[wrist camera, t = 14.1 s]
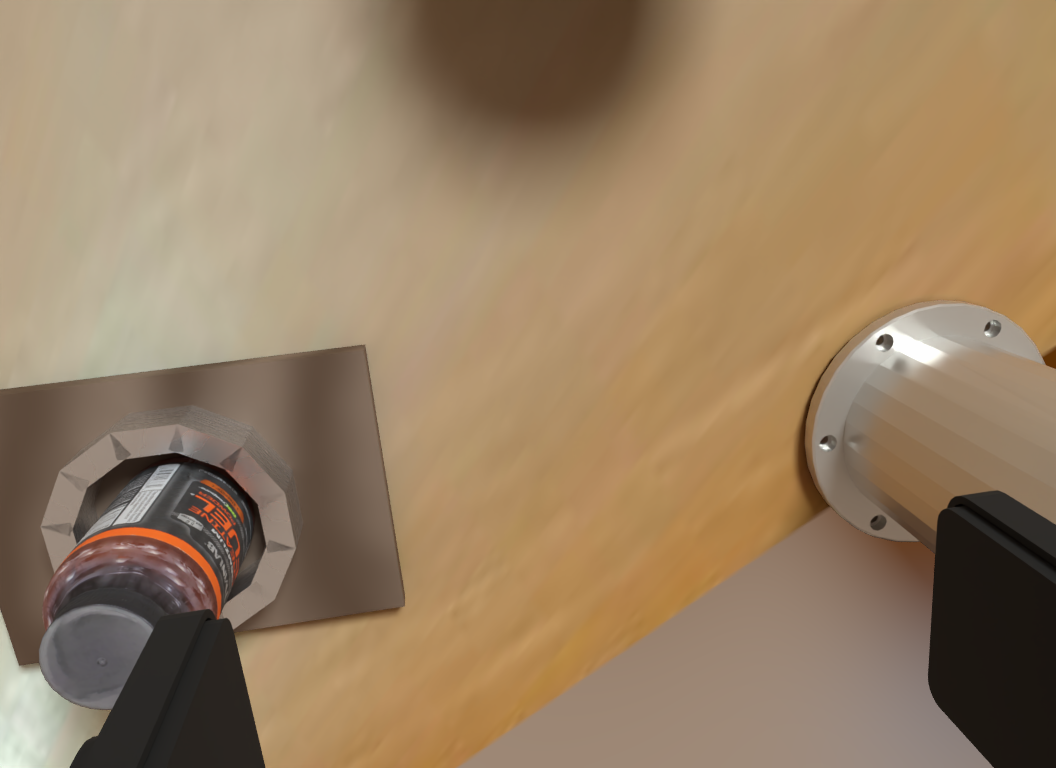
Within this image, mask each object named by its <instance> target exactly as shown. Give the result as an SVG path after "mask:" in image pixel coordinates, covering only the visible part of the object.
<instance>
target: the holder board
mask: <svg viewBox="0 0 1056 768" xmlns="http://www.w3.org/2000/svg"><path fill="white" fill-rule="evenodd" d="M190 405H194V406H197V407H200V408H202V409H205V410H208V411H211V412H214V413H216V414H219V415H222V416H225V417H228V418H230V419H233V420H236V421H239V422H242V423H244V424H247V425H250V426H253V427H254V428H255V429H256V431H257V432H258V433H259V434H260V435H261V436H262V437H263V438H264V439H265V440H266V441H267V443H268V444H269V445H270V446H271V447H272V448H273V449H274V450H275V451H276V452H277V454H278V455H279V456H280V457H281V458H282V459H283V460H284V461H285V462H286V463H287V464H288V466H289V467H290V468H291V469H292V470H293V474H294V479H295V484H296V489H297V495H298V500H299V505H300V510H301V515H302V520H303V526H302V529H301V533H300V536H299V540H298V544H297V547H296V550H295V552H294V555H293V557H292V559H291V562H290V564H289V567H288V569H287V571H286V574H285V576H284V579H283V581H282V583H281V586H280V588H279V591H278V593H277V595H276V598H275V600H274V601H272V602H271V603H269V604H268V605H267V606H265V607H264V608H263V609H261V610H260V611H258V612H257V613H256V614H254V615H253V616H251V617H250V618H249V619H247V620H246V621H244V622H243V623H242V624H240V625H239V626H238V627H236V628H235V629H233V631H234V632H241V631H247V630H254V629H260V628H267V627H273V626H280V625H286V624H293V623H299V622H306V621H312V620H319V619H325V618H332V617H338V616H345V615H351V614H358V613H364V612H371V611H377V610H384V609H390V608H397V607H403V606H405V593H404V587H403V580H402V574H401V568H400V561H399V555H398V549H397V543H396V536H395V530H394V524H393V518H392V511H391V505H390V499H389V492H388V486H387V480H386V474H385V467H384V461H383V455H382V448H381V442H380V436H379V430H378V423H377V417H376V411H375V405H374V398H373V392H372V386H371V379H370V373H369V367H368V361H367V354H366V348H365V345H359V346H351V347H342V348H334V349H326V350H318V351H310V352H302V353H294V354H286V355H278V356H270V357H262V358H253V359H245V360H237V361H229V362H221V363H213V364H205V365H197V366H189V367H181V368H173V369H164V370H156V371H148V372H140V373H132V374H124V375H116V376H108V377H100V378H92V379H84V380H75V381H67V382H59V383H51V384H43V385H35V386H27V387H19V388H11V389H3V390H0V609H1V612H2V615H3V618H4V621H5V624H6V627H7V630H8V633H9V636H10V639H11V642H12V645H13V648H14V651H15V654H16V657H17V660H18V663H19V665H26V664H32V663H39V648H40V644H41V641H42V638H43V636H44V634H45V632H46V630H45V627H44V622H43V614H42V607H43V600H44V595H45V591H46V589H47V587H48V584H49V582H50V580H51V578H52V576H53V575H54V570H53V567H52V563H51V560H50V557H49V553H48V550H47V547H46V543H45V540H44V537H43V534H42V530H41V524H42V521H43V518H44V515H45V512H46V509H47V506H48V503H49V500H50V497H51V494H52V491H53V488H54V485H55V482H56V480H57V477H58V474H59V471H60V470H61V469H62V468H63V467H64V466H65V465H66V464H67V463H68V462H69V461H70V460H71V459H72V458H73V457H74V456H75V455H76V454H77V453H78V452H79V451H80V450H81V449H83V448H84V447H85V446H87V445H88V444H89V443H91V442H92V441H93V440H95V439H96V438H97V437H99V436H100V435H101V434H103V433H104V432H105V431H107V430H108V429H109V428H111V427H112V426H113V425H115V424H116V423H117V422H119V421H120V420H121V419H123V418H124V417H125V416H127V415H128V414H129V413H135V412H143V411H151V410H158V409H166V408H174V407H182V406H190ZM182 457H188V456H185V455H182V454H179V453H168V454H161V455H153V456H145V457H138V458H130V459H125V460H124V461H122V462H121V463H119V464H118V465H117V466H115V467H114V468H113V469H111V470H110V471H109V472H107V473H106V474H105V475H104V477H103V480H102V483H101V486H100V489H99V492H98V494H97V497H96V500H95V503H94V506H95V509H96V513H97V516H98V519H99V517H100V516H101V515H102V514H103V513H104V511H105V510H106V509H107V508H108V506H109V505H110V504H111V503H112V502H113V500H114V499H115V498H116V497H117V496H118V494H119V493H120V492H121V491H122V490H123V488H124V487H125V486H126V485H127V484H128V483H129V482H130V480H131V479H132V478H133V477H134V476H136V475H137V474H138V473H139V472H140V471H142V470H143V469H145V468H146V467H148V466H150V465H152V464H153V463H156V462H158V461H162V460H166V459H170V458H182ZM248 495H249V494H248ZM249 497H250V499H251V501H252V505H253V510H254V516H255V523H254V531H253V535H252V539H251V542H250V545H249V548H248V550H247V552H246V555H245V557H244V560H243V563H242V565H241V567H240V569H239V572H238V574H239V573H240V572H241V571H243V570H244V569H246V568H247V567H248V566H250V565H251V564H252V563H254V562H255V561H257V560H258V559H259V558H261V555H262V553H263V550H264V548H265V545H266V541H265V536H264V532H263V527H262V522H261V518H260V513H259V508H258V504H257V503H256V502H255V500H254V499H253V498H252V497H251V496H250V495H249Z"/></svg>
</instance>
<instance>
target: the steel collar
mask: <svg viewBox="0 0 1056 768" xmlns="http://www.w3.org/2000/svg"><path fill="white" fill-rule="evenodd" d="M168 453H179V454H182V455H185V456H188V457H191V458H194V459H197V460H200V461H203V462H206V463H208V464H211V465H214V466H217V467H220V468H223V469H225V470H226V471H227V472H228V473H229V474H230V475H231V476H232V477H233V478H234V479H235V480H236V481H237V483H238V484H239V485H240V486H241V487H242V488H243V489H244V490H245V491H246V492H247V493H248V494H249V495H250V496H251V497H252V498H253V499H254V500H255V502H256V503H257V504H258V508H259V513H260V518H261V522H262V527H263V532H264V536H265V541H266V545H265V548H264V550H263V553H262V555H261V558H259V559H258V560H257V561H255V562H254V563H252V564H251V565H250V566H248V567H247V568H246V569H244V570H243V571H241V572H240V573H239V574H238V575H237V577H236V580H235V582H234V584H233V587H232V589H231V592H230V594H229V597H228V600H227V602H226V604H225V606H224V609H223V611H222V613H221V616H220V618H219V619H223V618H228V619H229V620H230V622H231V624H232V628H233V629H235V628H236V627H238V626H239V625H240V624H242V623H243V622H244V621H246V620H247V619H249V618H250V617H251V616H253V615H254V614H256V613H257V612H258V611H260V610H261V609H263V608H264V607H265V606H267V605H268V604H269V603H271V602H272V601H274V600H275V598H276V595H277V593H278V591H279V588H280V586H281V583H282V581H283V579H284V576H285V574H286V571H287V569H288V567H289V564H290V562H291V559H292V557H293V555H294V552H295V550H296V547H297V544H298V540H299V536H300V533H301V529H302V526H303V520H302V515H301V510H300V505H299V500H298V495H297V489H296V484H295V479H294V474H293V470H292V469H291V468H290V467H289V466H288V464H287V463H286V462H285V461H284V460H283V459H282V458H281V457H280V456H279V455H278V454H277V452H276V451H275V450H274V449H273V448H272V447H271V446H270V445H269V444H268V443H267V441H266V440H265V439H264V438H263V437H262V436H261V435H260V434H259V433H258V432H257V431H256V429H255V428H254V427H253V426H250V425H247V424H244V423H242V422H239V421H236V420H233V419H230V418H228V417H225V416H222V415H219V414H216V413H214V412H211V411H208V410H205V409H202V408H200V407H197V406H194V405H190V406H182V407H174V408H166V409H158V410H151V411H143V412H135V413H129V414H128V415H127V416H125V417H124V418H123V419H121V420H120V421H119V422H117V423H116V424H115V425H113V426H112V427H111V428H109V429H108V430H107V431H105V432H104V433H103V434H101V435H100V436H99V437H97V438H96V439H95V440H93V441H92V442H91V443H89V444H88V445H87V446H85V447H84V448H83V449H81V450H80V451H79V452H78V453H77V454H76V455H75V456H74V457H73V458H72V459H71V460H70V461H69V462H68V463H67V464H66V465H65V466H64V467H63V468H62V469H61V470H60V471H59V474H58V477H57V480H56V482H55V485H54V488H53V491H52V494H51V497H50V500H49V503H48V506H47V509H46V512H45V515H44V518H43V521H42V524H41V530H42V534H43V537H44V540H45V543H46V547H47V550H48V553H49V557H50V560H51V563H52V567H53V570H54V573H55V572H56V570H57V569H58V567H59V566H60V565H61V563H62V562H63V561H64V560H65V559H66V557H67V556H68V555H69V554H70V552H71V551H72V550H73V549H74V548H75V546H76V545H77V544H78V543H79V542H80V540H81V539H82V538H83V537H84V536H85V534H86V533H87V532H88V531H89V530H90V528H91V527H92V526H93V525H94V523H95V522H96V521H97V520H98V516H97V513H96V509H95V506H94V503H95V500H96V497H97V494H98V492H99V489H100V486H101V483H102V480H103V477H104V475H105V474H106V473H107V472H109V471H110V470H111V469H113V468H114V467H115V466H117V465H118V464H119V463H121V462H122V461H124V460H125V459H130V458H138V457H145V456H153V455H161V454H168Z"/></svg>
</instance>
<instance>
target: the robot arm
mask: <svg viewBox="0 0 1056 768" xmlns="http://www.w3.org/2000/svg"><path fill="white" fill-rule="evenodd" d="M878 338H879V340H878V341H877V339H878ZM823 437H824V438H823ZM822 438H823V439H822ZM805 450H806V457H807V464H808V468H809V471H810V473H811V476H812V479H813V481H814V484H815V486H816V488H817V489H818V491H819V492H820V494H821V495H822V497H823V498H824V500H825V501H826V503H827V504H828V505H829V506H830V507H831V508H832V509H833V510H834V511H835V512H836V513H837V514H838V515H839V516H840V517H842V518H843V519H844V520H846V521H847V522H849V523H850V524H851V525H852V526H854V527H855V528H857V529H858V530H860V531H862V532H864V533H866V534H868V535H871V536H874V537H877V538H882V539H886V540H891V541H898V542H919V541H920V542H921V543H923V544H924V545H925V546H926V547H927V548H929V549H930V550H931V551H932V552H933V553H935V568H934V585H933V602H932V618H931V635H930V653H929V669H928V682H929V687H930V690H931V693H932V696H933V698H934V700H935V702H936V703H937V705H938V706H939V707H940V709H941V710H942V711H943V712H944V713H945V714H946V715H947V716H948V717H949V719H950V720H951V721H952V722H953V723H954V724H955V725H956V726H957V727H958V728H959V730H960V731H961V732H962V733H963V734H964V735H965V736H966V737H967V738H968V739H969V741H971V743H972V744H973V745H974V746H975V747H976V748H977V749H978V751H979V752H980V753H981V754H982V755H983V756H984V757H985V758H986V759H987V760H988V761H989V763H990V764H991V765H992V766H993V767H994V768H1056V369H1053V368H1051V367H1048V366H1046V365H1045V363H1044V361H1043V359H1042V357H1041V355H1040V353H1039V351H1038V349H1037V347H1036V345H1035V343H1034V342H1033V341H1032V340H1031V339H1030V337H1029V336H1028V335H1027V334H1026V333H1025V331H1024V330H1023V329H1022V328H1021V327H1019V326H1018V325H1017V324H1015V323H1014V322H1013V321H1011V320H1010V319H1009V318H1007V317H1006V316H1004V315H1002V314H999V313H997V312H995V311H992V310H990V309H988V308H985V307H982V306H978V305H975V304H971V303H968V302H964V301H950V300H936V301H928V302H920V303H916V304H913V305H910V306H907V307H904V308H900V309H897V310H895V311H893V312H891V313H889V314H887V315H885V316H883V317H881V318H880V319H878V320H876V321H874V322H872V323H871V324H870V325H868V326H867V327H866V328H864V329H863V330H862V331H861V332H859V333H858V334H857V335H855V336H854V337H853V338H852V339H851V340H850V341H849V342H848V343H847V344H846V345H845V346H844V347H843V349H842V350H841V351H840V352H839V353H838V354H837V355H836V356H835V357H834V359H833V360H832V362H831V363H830V365H829V367H828V368H827V370H826V371H825V373H824V374H823V376H822V377H821V379H820V382H819V384H818V386H817V388H816V391H815V393H814V395H813V397H812V400H811V404H810V408H809V412H808V416H807V420H806V431H805ZM70 768H265V764H264V760H263V755H262V751H261V747H260V743H259V738H258V734H257V730H256V725H255V721H254V717H253V713H252V708H251V704H250V700H249V695H248V691H247V687H246V683H245V678H244V674H243V670H242V666H241V661H240V657H239V653H238V648H237V644H236V640H235V636H234V631H233V628H232V624H231V622H230V620H229V619H228V618H223V619H216V617H215V615H214V613H213V612H212V611H211V610H210V609H204V610H197V611H191V612H184V613H177V614H171V615H164V616H161V617H160V619H159V620H158V621H157V623H156V625H155V627H154V629H153V631H152V633H151V635H150V637H149V639H148V641H147V643H146V644H145V646H144V648H143V650H142V652H141V654H140V656H139V658H138V660H137V662H136V664H135V666H134V668H133V670H132V672H131V673H130V675H129V677H128V679H127V681H126V683H125V685H124V687H123V689H122V691H121V693H120V695H119V697H118V699H117V700H116V702H115V704H114V706H113V708H112V710H111V712H110V714H109V716H108V718H107V720H106V722H105V724H104V726H103V728H102V729H101V731H100V733H99V735H98V736H96V737H92V738H90V739H89V740H87V741H85V743H84V744H83V745H82V747H81V748H80V750H79V751H78V753H77V755H76V756H75V758H74V760H73V762H72V764H71V766H70Z"/></svg>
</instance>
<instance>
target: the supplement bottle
mask: <svg viewBox="0 0 1056 768" xmlns="http://www.w3.org/2000/svg"><path fill="white" fill-rule="evenodd" d="M254 523H255V516H254V510H253V505H252V501H251V499H250V497H249V495H248V493H247V492H246V491H245V490H244V489H243V488H242V487H241V486H240V485H239V484H238V483H237V481H236V480H235V479H234V478H233V477H232V476H231V475H230V474H229V473H228V472H227V471H226V470H225V469H223V468H220V467H217V466H214V465H211V464H208V463H206V462H203V461H200V460H197V459H194V458H191V457H182V458H170V459H166V460H162V461H158V462H156V463H153V464H152V465H150V466H148V467H146V468H145V469H143V470H142V471H140V472H139V473H138V474H137V475H136V476H134V477H133V478H132V479H131V480H130V482H129V483H128V484H127V485H126V486H125V487H124V488H123V490H122V491H121V492H120V493H119V494H118V496H117V497H116V498H115V499H114V500H113V502H112V503H111V504H110V505H109V506H108V508H107V509H106V510H105V511H104V513H103V514H102V515H101V516H100V517H99V519H98V520H97V521H96V522H95V523H94V525H93V526H92V527H91V528H90V530H89V531H88V532H87V533H86V534H85V536H84V537H83V538H82V539H81V540H80V542H79V543H78V544H77V545H76V546H75V548H74V549H73V550H72V551H71V552H70V554H69V555H68V556H67V557H66V559H65V560H64V561H63V562H62V563H61V565H60V566H59V567H58V569H57V570H56V572H55V573H54V575H53V576H52V578H51V580H50V582H49V584H48V587H47V589H46V591H45V595H44V600H43V607H42V614H43V622H44V627H45V630H46V632H45V634H44V636H43V638H42V641H41V644H40V648H39V663H40V667H41V671H42V673H43V675H44V678H45V680H46V681H47V682H48V684H49V685H50V687H51V688H52V689H53V690H54V691H56V692H57V693H58V694H59V695H61V696H62V697H63V698H65V699H66V700H68V701H70V702H72V703H74V704H77V705H80V706H82V707H87V708H90V709H100V710H112V708H113V706H114V704H115V702H116V700H117V699H118V697H119V695H120V693H121V691H122V689H123V687H124V685H125V683H126V681H127V679H128V677H129V675H130V673H131V672H132V670H133V668H134V666H135V664H136V662H137V660H138V658H139V656H140V654H141V652H142V650H143V648H144V646H145V644H146V643H147V641H148V639H149V637H150V635H151V633H152V631H153V629H154V627H155V625H156V623H157V621H158V620H159V619H160V617H161V616H164V615H171V614H177V613H184V612H191V611H197V610H204V609H210V610H211V611H212V612H213V613H214V615H215V617H216V619H219V618H220V616H221V613H222V611H223V609H224V606H225V604H226V602H227V600H228V597H229V594H230V592H231V589H232V587H233V584H234V582H235V580H236V577H237V575H238V572H239V569H240V567H241V565H242V563H243V560H244V557H245V555H246V552H247V550H248V548H249V545H250V542H251V539H252V535H253V531H254Z"/></svg>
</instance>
